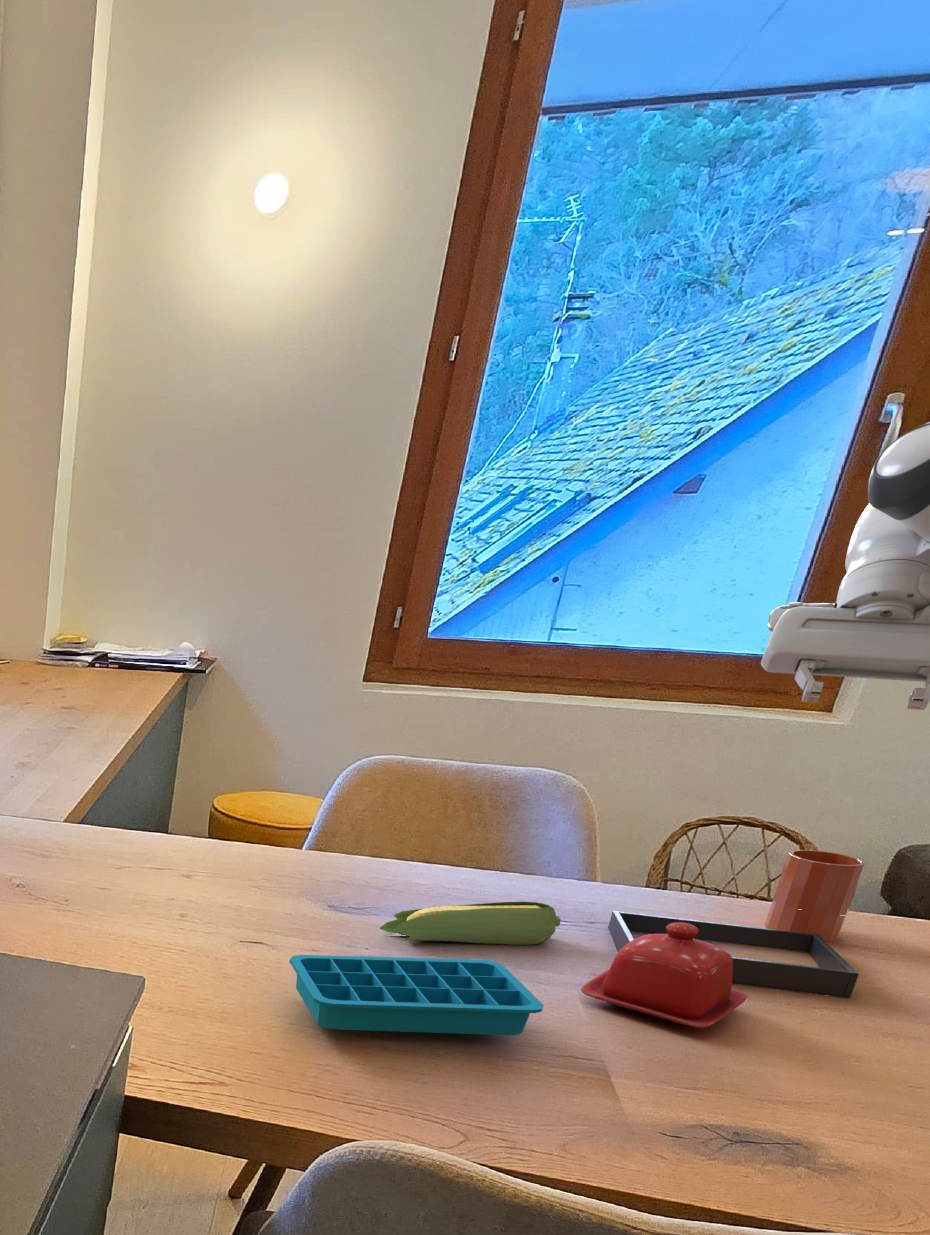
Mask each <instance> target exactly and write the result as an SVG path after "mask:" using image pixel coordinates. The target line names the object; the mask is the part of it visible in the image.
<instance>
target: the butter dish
mask: <svg viewBox="0 0 930 1235" xmlns="http://www.w3.org/2000/svg"><path fill="white" fill-rule="evenodd" d="M666 930H667V932H668V934H644V935H641V936H638V937H637V938H634V940H632V941H631V942H629V943H628V944H626V945H625V946H624V947H623V948H622V949H621V950H620V951H619V952H618V951H617V953H616V955H615V957H614V958H613V961H612V962H611V964H610V967H609V968H608V969H606V970H605V971H603V972H601V973H600V974H598V975H597V976H595V977H593V978H592V979H591V980H589V981H588V982H587V983H585V984H584V985H582V986H581V988H580V991H581V993H582V994H584V995H586V996H588V997H591V998H593V999H596V1000H600V1001H604V1002H606V1003H608V1004H611V1005H614V1006H617V1007H621V1008H624V1009H628V1010H631V1011H635V1012H637V1013H642V1014H645V1015H648V1016H651V1017H655V1018H659V1019H662V1020H666V1021H669V1022H672V1023H676V1024H678V1025H679V1024H680V1025H683V1026H690V1027H693V1028H700V1029H703V1028H708V1027H710V1026H712V1025H714V1024H715V1023H718V1022H719V1021H720V1020H721V1019H722V1018H724V1017H725V1016H727V1015H728V1014H730V1013H731V1012H732V1011H733V1010H735V1009H736V1008H738V1007H739V1006H740V1005H742V1004H743V1003H745V1001H746V1000H747V999H748V995H747V994H746V993H744V992H742V991H739V990H737V989H732V986H733V984H732V975H733V959H732V957H733V956H732V955H731V954H730V952H728V951H727V950H725V949H723V948H721V947H720V946H717V945H715V944H714V943H713V944H712V943H710V942H706V941H705V940H699V939H693V938H694V936H696V935H697V934H698V929H697V927H695V926H694V925H691V924H688V923H682V922H676V923H671V924H669V925H667V926H666Z"/></svg>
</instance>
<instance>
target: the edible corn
mask: <svg viewBox="0 0 930 1235" xmlns="http://www.w3.org/2000/svg"><path fill="white" fill-rule="evenodd" d="M392 916H393V917H394V918H396V919H394V920H390V921H387V922H386V923H384V924H383V925H382V926H380V927H379V928H378V929H379V930H382V931H384V932H386V933H389V934H392V933H399V934H401V935H406V936H405V937H407V938H405V939H404V941H424V942H425V941H427V942H431V941H432V942H448V944H449V943H450V942H455V943H470V944H473V945H474V944H476V945H477V944H487V945H518V946H519V945H522V946H523V945H526V946H527V945H537V946H539V945H541V944H542V943H543V942H546V941H547V940H549V939H550V938H551V937H552V936H553V935H554V934H555V933H556V927H559V926H560V924H561V917H560V916H559V915H557V913H556V910H555V908H554V907H552V906H551V905H549V904H546V903H543V902H536V901H503V902H487V903H486V902H485V903H473V904H460V905H459V904H458V905H439V906H430V907H425V908H418V909H417V908H416V909H409V910H403V911H399V912H397V913H394V914H393V915H392Z"/></svg>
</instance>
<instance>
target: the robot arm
mask: <svg viewBox="0 0 930 1235" xmlns="http://www.w3.org/2000/svg"><path fill="white" fill-rule="evenodd" d="M867 486H868V487H867V500H868V505H867V506H866V507H865V508H864V510H863V511H862V513H861V515H860V517H859V518H858V520H857V522H856V524H855V526H854V529H853V531H852V533H851V537H850V540H849V544H848V546H847V552H846V556H845V559H844V560H845V562H844V566H845V567H844V568H845V571H846V572H845V573H846V574H844V576H843V578H842V580H841V582H840V584H839V587H838V592H837V596H836V601H835V603H828V602H827V603H826V602H825V603H824V602H813V603H806V602H805V603H804V602H799V601H798V602H797V601H794V602H789V603H788V604H787V605H786V604H785V605H782V606H778V607H776V608H774V609H773V610H772V611H771V612H770V614H769V615H768V619H767V620H768V621H767V628H768V630H769V631H770V633H771V634H770V637H769V639H768V641H767V643H766V646H765V649H764V651H763V655H762V658H761V661H760V666H761V667H762V668H763V670H765V672H767V673H775V674H777V673H778V674H793V675H794V681H795V682H796V683H797V685H798V686H799V688H800V689H801V691H803V693H802V698H801V702H803V703H805V702H806V703H819V700H820V699H821V696H822V693H823V687H824V684H825V682H824V681H816V679H815V678H814V676H825V677H840V678H856V679H857V678H858V679H873V680H874V679H875V680H887V681H888V680H889V681H903V682H919V683H921V682H922V683H924V687H914V688H913V690H912V693H911V694H910V696H909V698H908V701H907V702H908V705H907V710H916V711H925V710H926V708H927V707H928V705H929V702H930V421H929V422H926V423H924V424H921V425H919V426H917V427H914V428H913V429H911V430H909V431H907V432H906V433H903V434H902V435H901V436H899V437H897V438H896V439H894V440H893V442H891V443H890V444H889V445H888V446H887V447H886V448H884V450H883V451H882V452H881V453H880V455H879V456H878V457H877V458H876V460H875V463H874V464H873V467H872V469H871V472H870V476H869V478H868V484H867Z"/></svg>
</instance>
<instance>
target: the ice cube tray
mask: <svg viewBox="0 0 930 1235" xmlns="http://www.w3.org/2000/svg"><path fill="white" fill-rule="evenodd" d="M289 964H290V965H291V967H292V969H293V971H294V972H295V973H296V984H295V989H296V991H297V992H298V994H299V996H300V998H301V999H302V1001H303V1003H304V1004H305V1006H306V1008H307V1009H308V1011H309V1013H310V1015H311V1016H312V1018H313V1019H314V1021H315V1023H316V1024H317V1026H319V1027H322V1028H325V1029H330V1030H345V1031H346V1030H347V1031H349V1030H350V1031H374V1032H375V1031H376V1032H403V1033H407V1032H408V1033H410V1032H411V1033H436V1034H464V1035H465V1034H466V1035H490V1036H491V1035H493V1036H517V1035H522V1033H523V1032H524V1030H525V1027H526V1025H527V1023H528V1020H529V1017H530V1014H538V1013H541V1012H542V1011H543V1009H544V1003H542V1002H541V1001H540V1000H539V999H538V997H536V996H535V995H534V994H533V993H532V992H531V991H530V990H529V989H528V988H527V987H526V986H525V985H524V984H523V983H522V982H521V981H520V980H519V979H518V978H517V977H516V976H515V975H514V974H513V972H511V971H509V969H508V968H507V967H505V965H504V964H502V963H499V962H497V961H494V960H489V959H473V958H472V959H471V958H439V957H438V958H436V957H435V958H433V957H397V956H396V957H395V956H363V955H362V956H361V955H330V954H329V955H327V954H326V955H324V954H322V955H321V954H296V955H292V956H291V957H290V958H289Z"/></svg>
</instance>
